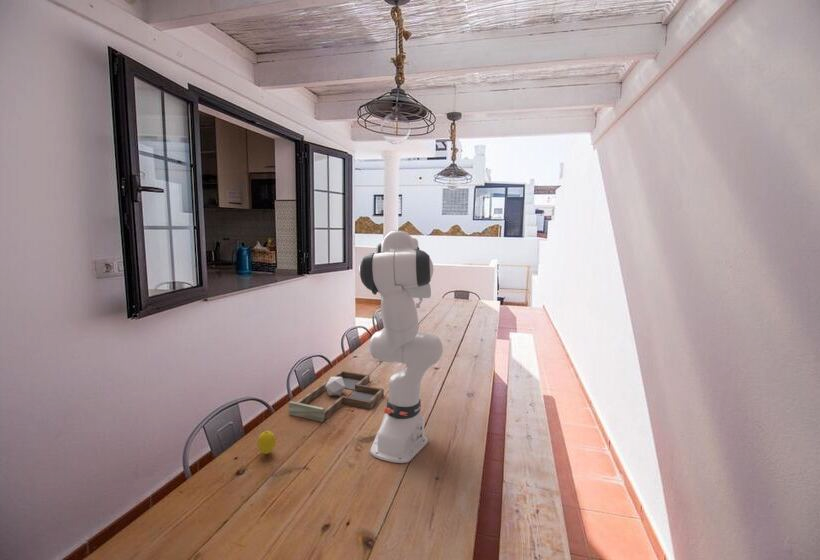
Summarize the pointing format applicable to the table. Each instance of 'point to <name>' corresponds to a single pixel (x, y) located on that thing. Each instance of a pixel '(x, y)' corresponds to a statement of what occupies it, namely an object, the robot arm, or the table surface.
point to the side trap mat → (361, 396)
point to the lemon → (266, 442)
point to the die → (335, 386)
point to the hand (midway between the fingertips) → (406, 307)
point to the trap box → (320, 414)
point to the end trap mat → (350, 383)
